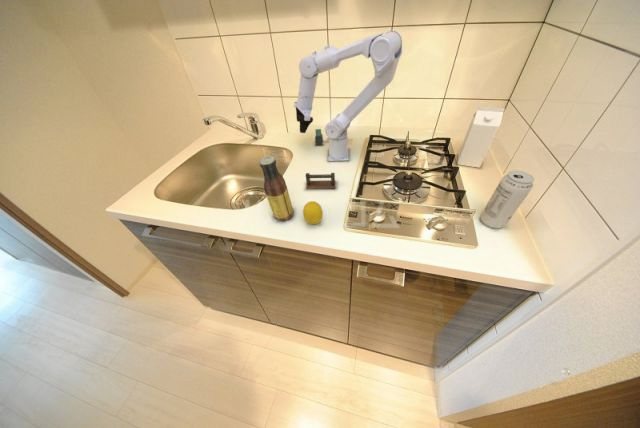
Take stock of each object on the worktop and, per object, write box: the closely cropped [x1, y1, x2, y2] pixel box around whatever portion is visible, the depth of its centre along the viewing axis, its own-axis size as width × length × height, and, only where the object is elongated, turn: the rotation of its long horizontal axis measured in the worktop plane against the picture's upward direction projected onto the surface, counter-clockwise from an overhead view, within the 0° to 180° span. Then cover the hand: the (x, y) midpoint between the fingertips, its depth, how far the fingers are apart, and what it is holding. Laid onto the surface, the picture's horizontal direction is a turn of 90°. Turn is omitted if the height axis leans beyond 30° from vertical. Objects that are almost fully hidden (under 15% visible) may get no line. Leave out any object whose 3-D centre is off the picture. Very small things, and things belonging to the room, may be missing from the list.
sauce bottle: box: [258, 155, 294, 222], centre depth 64 cm, size 7×6×20 cm
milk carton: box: [457, 106, 506, 168], centre depth 77 cm, size 7×7×19 cm
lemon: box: [302, 200, 324, 225], centre depth 64 cm, size 6×6×8 cm
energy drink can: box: [480, 170, 535, 230], centre depth 57 cm, size 6×6×15 cm
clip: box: [314, 128, 324, 146], centre depth 100 cm, size 4×3×7 cm
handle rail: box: [305, 172, 336, 190], centre depth 78 cm, size 4×10×5 cm, turn 85°
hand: (300, 126), depth 93 cm, fingers open, 7 cm apart
